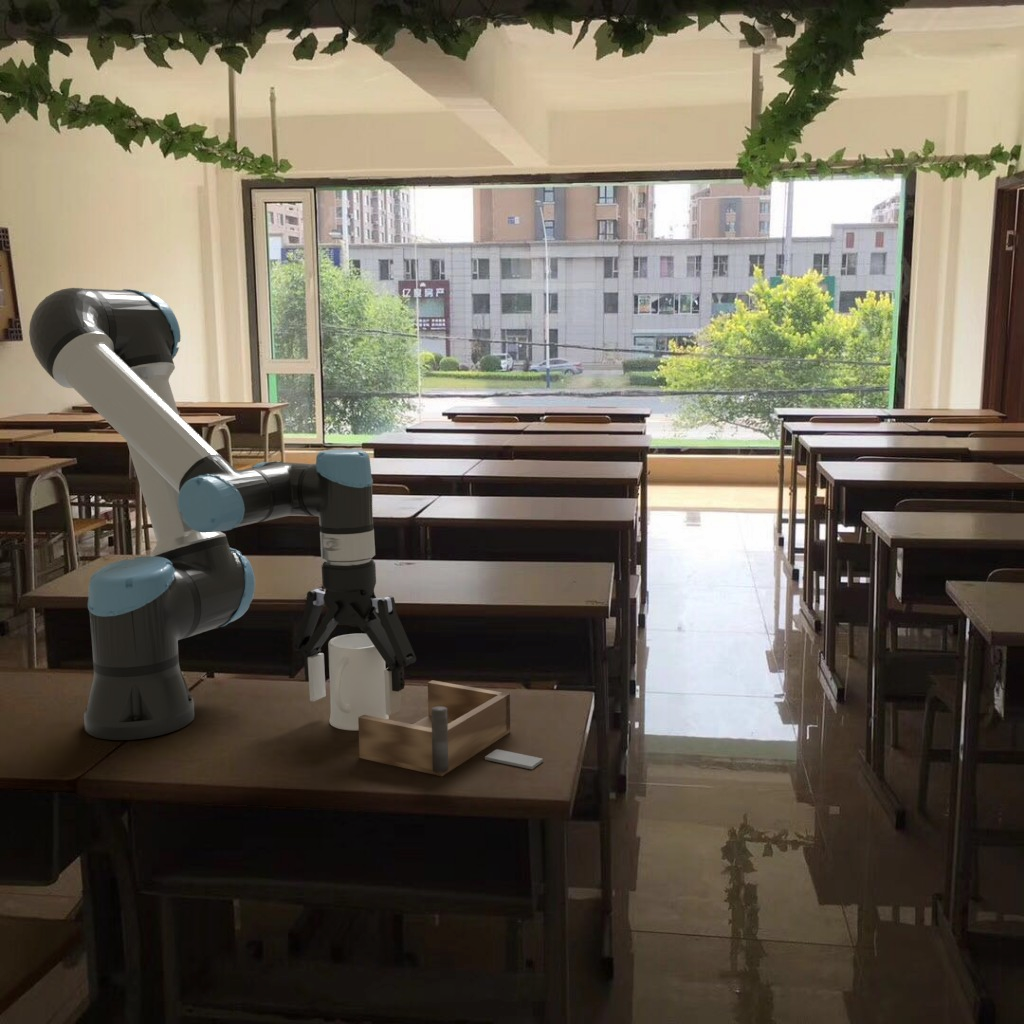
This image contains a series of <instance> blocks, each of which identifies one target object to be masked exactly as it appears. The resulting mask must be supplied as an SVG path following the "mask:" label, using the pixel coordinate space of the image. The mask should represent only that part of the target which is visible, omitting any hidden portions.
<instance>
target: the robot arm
mask: <svg viewBox="0 0 1024 1024" xmlns="http://www.w3.org/2000/svg"><path fill="white" fill-rule="evenodd" d="M28 330H29V331H28V334H29V335H28V336H29V342H30V346H31V348H32V352H33V353H34V356H35V358H36V359H37V361H38V362H39V364H40V365H41V367H42V369H44V370H45V371H46V373H47V374H48V375H49V376H50V377H51V378H52V379H53V380H54V381H55V382H56V383H57V384H58V385H60V386H61V387H63V388H67V389H74V390H75V391H76V392H77V393H78V394H79V395H80V396H81V397H82V398H83V399H84V400H85V402H87V404H88V405H90V406H91V407H92V408H93V409H94V411H96V412H97V413H98V414H99V415H100V416H101V417H102V418H103V419H104V420H105V421H106V422H107V423H108V424H109V425H110V426H111V427H112V428H113V429H114V430H115V431H116V432H117V433H118V434H119V435H120V436H121V437H122V438H123V439H124V440H125V441H126V444H127V447H128V450H129V454H130V457H131V461H132V463H133V468H134V470H135V474H136V476H137V480H138V484H139V486H140V490H141V494H142V496H143V500H144V503H145V507H146V510H147V514H148V517H149V520H150V523H151V526H152V530H153V533H154V536H155V540H156V545H155V546H154V548H153V550H152V552H151V554H150V556H137V557H134V558H132V559H128V558H126V559H122V560H118V561H115V562H112V563H109V564H106V565H104V566H102V567H100V568H99V569H98V570H97V571H95V572H94V573H92V575H91V577H90V579H89V581H88V599H87V609H88V614H89V627H90V635H91V647H92V649H91V650H92V661H93V662H92V665H93V679H92V683H91V684H92V685H91V687H90V690H89V692H90V693H89V697H88V702H87V706H86V708H85V711H84V713H83V720H84V731H85V732H86V733H87V734H88V735H90V736H92V737H94V738H97V739H102V740H110V741H111V740H112V741H132V740H133V741H134V740H142V739H149V738H155V737H158V736H159V737H160V736H163V735H166V734H169V733H173V732H176V731H178V730H180V729H182V728H184V727H186V726H188V725H190V723H192V721H193V720H194V719H195V715H196V714H195V701H194V698H193V696H192V695H191V694H190V689H189V688H188V685H187V682H186V679H185V677H184V675H183V673H182V670H181V668H180V662H179V661H180V660H179V643H178V642H179V641H180V640H183V639H186V638H190V637H193V636H196V635H199V634H202V633H204V632H208V631H211V630H215V629H219V628H223V627H225V626H227V625H228V624H230V623H232V622H235V621H236V620H238V619H240V618H241V617H242V616H244V615H245V614H246V612H247V611H248V610H249V608H250V605H251V603H252V602H253V599H254V597H255V590H256V577H255V572H254V570H253V566H252V564H251V562H250V560H249V559H248V558H247V556H246V555H242V552H241V551H240V550H237V549H236V548H232V547H230V545H229V541H228V538H227V535H226V533H224V532H226V531H232V530H233V529H235V528H239V527H243V526H247V525H252V524H255V523H256V524H257V523H262V522H267V521H272V520H275V519H276V520H277V519H279V518H280V519H281V518H284V517H289V516H292V517H293V516H300V517H301V516H302V517H312V518H313V517H316V518H317V517H318V524H319V525H318V526H319V538H320V539H319V540H320V556H321V559H323V560H324V561H323V562H322V563H321V582H322V583H321V584H322V587H323V588H322V587H318V588H314V589H313V590H309V591H307V592H306V606H305V609H304V611H303V614H302V617H301V619H300V622H299V624H298V629H297V631H296V633H295V636H294V639H293V641H292V643H291V644H292V645H291V647H292V650H293V651H299V652H300V653H301V654H302V656H303V657H304V669H305V670H304V672H305V676H306V677H307V678H308V688H309V689H308V690H309V701H310V702H316V701H319V700H321V699H323V698H325V697H326V696H327V694H326V675H325V673H326V672H325V654H324V653H323V652H321V651H322V649H321V648H322V647H323V645H324V644H325V642H326V641H327V640H328V639H329V637H330V636H331V634H332V632H333V631H334V630H335V629H336V627H337V625H339V626H345V625H347V626H349V627H353V628H356V627H358V628H359V629H360V631H361V632H364V634H367V636H368V637H369V638H370V640H371V641H372V643H373V644H374V646H375V647H376V649H377V650H378V652H379V653H380V655H381V656H382V658H383V659H384V661H385V664H386V665H387V666H388V667H387V668H386V669H384V680H385V703H386V715H388V716H392V715H394V714H396V713H398V712H399V711H402V690H404V689H405V686H406V684H405V667H408V666H409V665H411V664H414V663H415V662H416V661H417V656H416V654H415V651H414V649H413V647H412V644H411V642H410V640H409V638H408V636H407V633H406V631H405V629H404V626H403V624H402V622H401V620H400V617H399V615H398V613H397V607H396V599H395V597H394V596H392V595H388V596H385V597H377V596H376V594H375V587H376V584H377V573H376V572H377V571H376V568H377V567H376V562H375V560H374V559H373V557H375V556H376V545H375V528H374V517H373V514H374V513H373V484H374V478H373V477H372V467H371V466H372V465H371V459H370V455H369V454H368V453H367V452H366V451H364V450H362V449H355V448H353V449H350V448H348V449H330V450H328V449H327V450H322V451H319V452H318V453H317V454H316V457H315V458H316V459H315V460H316V461H315V463H301V462H284V461H279V460H275V461H267V462H266V461H264V462H262V461H261V462H259V463H256V464H255V465H253V466H252V468H245V469H236V468H235V467H233V466H232V465H231V463H230V462H228V461H227V460H226V459H225V458H223V456H222V455H221V454H220V453H218V451H217V450H216V449H214V448H213V446H211V445H210V444H209V442H207V440H205V439H204V438H203V437H202V436H201V435H200V434H199V433H198V432H197V431H196V430H195V429H194V427H192V426H191V425H190V424H189V423H188V422H187V421H186V420H185V419H184V418H182V416H180V414H179V410H178V408H177V405H176V400H175V398H174V394H173V390H172V387H171V385H170V384H171V383H170V381H169V380H170V377H171V375H172V373H173V372H174V371H175V368H176V366H175V363H174V358H175V357H176V356H177V354H178V353H179V350H180V346H179V345H178V344H179V343H180V342H181V328H180V325H179V321H178V319H177V317H176V315H175V313H174V311H173V309H172V308H171V307H170V306H169V305H168V304H167V302H166V301H164V300H163V299H162V298H161V297H158V296H157V295H155V294H153V293H150V292H147V291H146V292H145V291H139V290H137V289H128V288H127V289H126V288H124V289H102V288H101V289H99V288H82V287H69V288H68V287H67V288H64V289H62V288H61V289H60V290H57V291H54V292H52V293H50V294H49V295H47V296H45V298H43V300H42V301H40V302H39V303H38V305H37V306H36V308H35V309H34V310H33V312H32V315H31V318H30V321H29V329H28ZM324 589H325V590H324ZM324 605H325V606H326V608H327V609H328V610H327V611H326V612H325V614H324V615H323V616H322V618H321V623H319V625H318V622H319V620H320V617H321V614H322V611H323V608H324ZM317 625H318V627H317ZM316 627H317V628H316ZM318 652H319V653H318Z"/></svg>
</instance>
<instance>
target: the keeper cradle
mask: <svg viewBox="0 0 1024 1024" xmlns="http://www.w3.org/2000/svg"><path fill="white" fill-rule="evenodd" d="M427 704H428V705H427V707H428V715H427V716H425V717H423V718H422V719H420V720H417V721H416V722H415V723H408V722H403V721H398V720H394V719H393V720H392V719H383V718H378V717H373V716H368V715H362V716H360V717H358V725H359V730H358V748H359V750H358V751H359V754H358V755H359V758H360V759H363V760H368V761H371V762H376V763H381V764H386V765H390V766H393V767H399V768H402V769H407V770H412V771H417V772H421V773H425V774H428V775H429V774H430V775H434V776H439V777H443V776H445V775H446V774H448V773H450V772H451V771H453V770H454V769H456V768H457V767H459V766H461V765H462V764H464V763H465V762H467V761H468V760H469V759H471V758H473V757H474V756H476V755H477V754H478V753H481V752H482V751H483V750H485V749H487V748H488V747H490V746H491V745H493V744H494V743H495V742H497V741H499V740H500V739H502V738H503V737H505V736H507V735H508V734H510V733H511V693H507V692H501V691H495V690H491V689H484V688H478V687H473V686H469V685H468V686H467V685H461V684H458V683H457V684H455V683H450V682H443V681H440V680H439V681H438V680H433V679H432V680H430V681H428V682H427Z"/></svg>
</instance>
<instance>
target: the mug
mask: <svg viewBox="0 0 1024 1024" xmlns="http://www.w3.org/2000/svg"><path fill="white" fill-rule="evenodd" d="M327 647H328V668H329V669H328V670H329V673H328V674H329V695H330V696H329V699H330V715H329V716H330V717H329V720H328V721H329V724H330V725H331V726H332V727H333V728H336V729H339V730H343V731H353V732H354V731H358V732H359V725H358V717H360V716H362V715H368V716H373V717H378V718H383V719H388V720H390V717H389V716H390V715H386V703H385V680H384V669H386V662H385V661H384V659H383V658H382V656H381V655H380V653H379V652H378V650H377V649H376V647H375V646H374V644H373V643H372V641H371V640H370V638H369V637H368V636H367V634H366V633H349V634H342V635H337V636H335V637H332V638H331V639H330V640H329V641H328V646H327Z"/></svg>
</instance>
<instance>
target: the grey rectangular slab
mask: <svg viewBox="0 0 1024 1024" xmlns="http://www.w3.org/2000/svg"><path fill="white" fill-rule="evenodd" d="M484 760H485V761H490V762H494V763H495V762H496V763H500V764H504V765H508V766H513V767H519V768H523V769H528V770H533V769H535V768H536V767H537V766H539V765H540V764H542V763H543V762H544V759H543V758H541V757H537V756H532V755H528V754H522V753H518V752H514V751H513V752H512V751H507V750H503V749H498V748H497V749H495V750H493V751H492V752H490V753H488V754H487V755H486V756H484Z"/></svg>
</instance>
